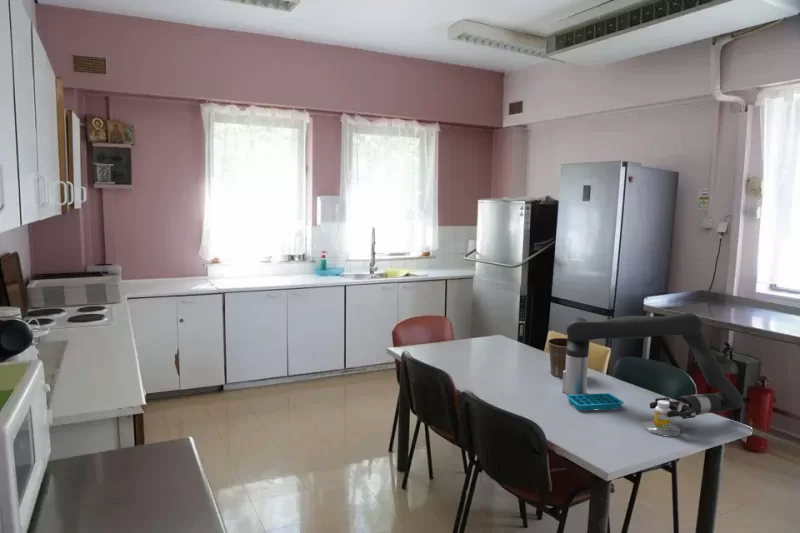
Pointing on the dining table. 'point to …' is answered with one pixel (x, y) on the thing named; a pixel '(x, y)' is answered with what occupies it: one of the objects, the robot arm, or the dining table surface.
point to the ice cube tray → (595, 401)
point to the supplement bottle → (662, 415)
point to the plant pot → (557, 356)
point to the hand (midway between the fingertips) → (659, 409)
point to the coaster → (671, 432)
